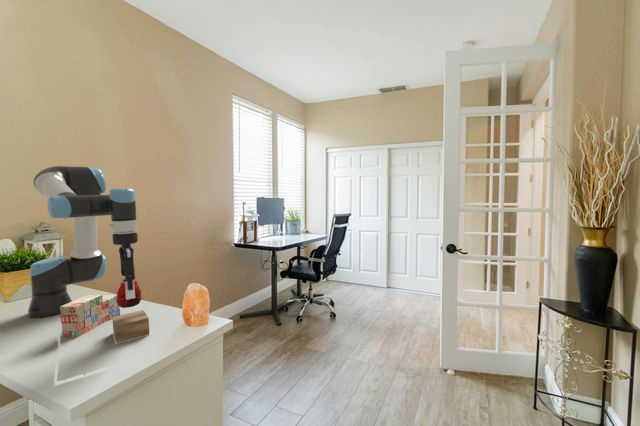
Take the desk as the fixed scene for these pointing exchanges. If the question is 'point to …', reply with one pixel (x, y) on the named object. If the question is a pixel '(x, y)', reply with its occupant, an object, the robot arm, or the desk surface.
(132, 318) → the plinth
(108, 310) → the stack of blocks
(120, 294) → the red clay folk toy
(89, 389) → the desk surface
